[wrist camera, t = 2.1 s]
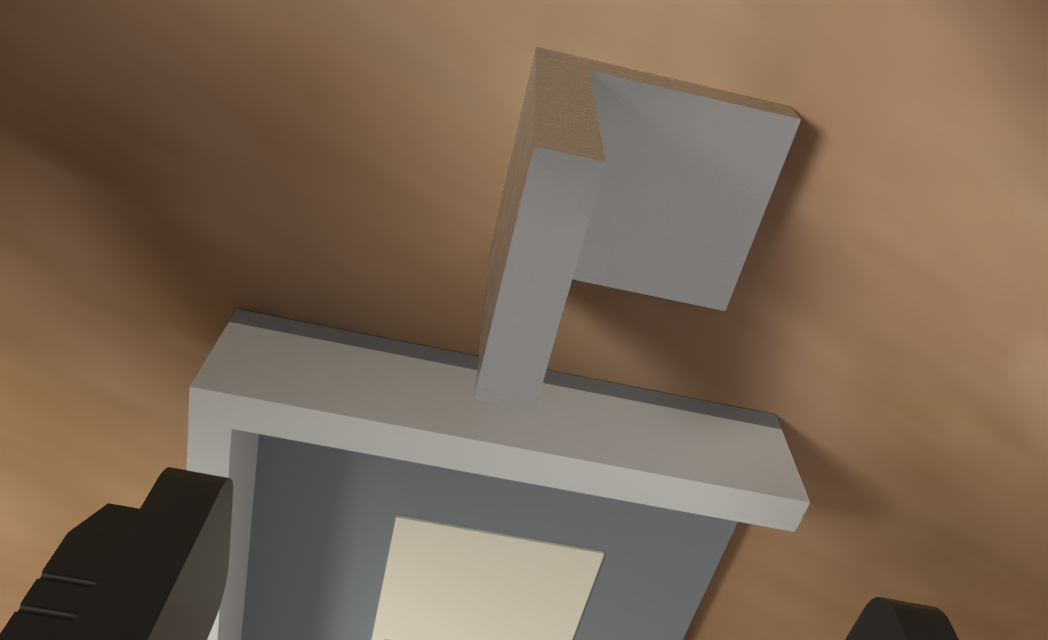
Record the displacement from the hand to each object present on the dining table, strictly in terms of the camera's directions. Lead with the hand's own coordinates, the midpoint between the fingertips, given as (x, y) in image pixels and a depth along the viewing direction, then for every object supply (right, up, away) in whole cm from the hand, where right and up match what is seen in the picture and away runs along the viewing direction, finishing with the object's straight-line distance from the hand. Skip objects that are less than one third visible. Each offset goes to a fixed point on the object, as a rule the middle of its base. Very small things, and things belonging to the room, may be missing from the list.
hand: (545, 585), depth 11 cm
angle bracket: (+3, +7, +14) cm, 16 cm away
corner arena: (-3, -7, +22) cm, 24 cm away
